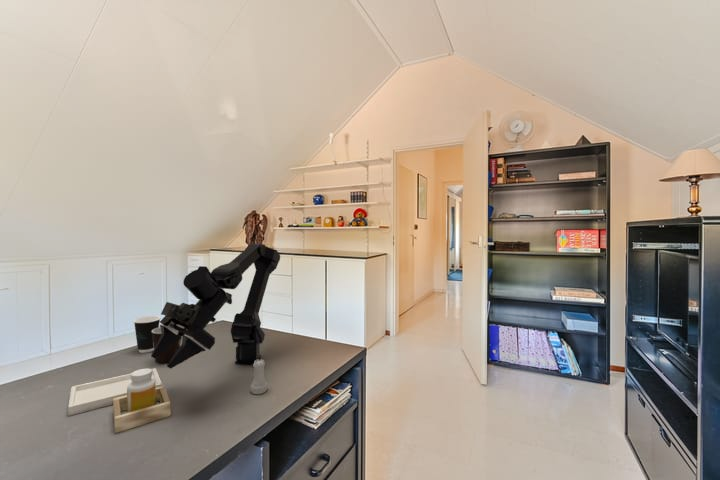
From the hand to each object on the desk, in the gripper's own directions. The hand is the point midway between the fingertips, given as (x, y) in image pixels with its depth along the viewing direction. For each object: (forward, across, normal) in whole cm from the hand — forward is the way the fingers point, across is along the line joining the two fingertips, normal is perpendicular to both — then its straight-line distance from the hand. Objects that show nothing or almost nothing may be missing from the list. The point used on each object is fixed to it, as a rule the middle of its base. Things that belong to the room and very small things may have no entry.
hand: (160, 362), depth 75 cm
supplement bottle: (+10, 0, +5) cm, 12 cm away
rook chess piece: (-6, +12, +22) cm, 25 cm away
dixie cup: (-1, -42, +16) cm, 45 cm away
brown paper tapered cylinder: (-2, -29, +17) cm, 34 cm away
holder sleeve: (+10, 0, +5) cm, 11 cm away
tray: (+10, -15, +5) cm, 19 cm away
